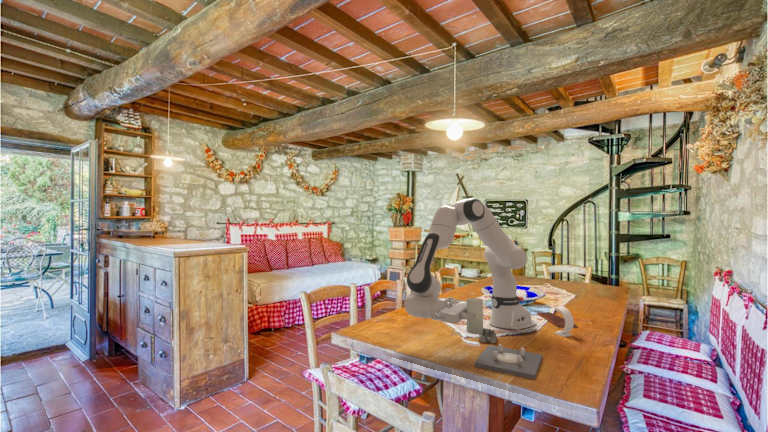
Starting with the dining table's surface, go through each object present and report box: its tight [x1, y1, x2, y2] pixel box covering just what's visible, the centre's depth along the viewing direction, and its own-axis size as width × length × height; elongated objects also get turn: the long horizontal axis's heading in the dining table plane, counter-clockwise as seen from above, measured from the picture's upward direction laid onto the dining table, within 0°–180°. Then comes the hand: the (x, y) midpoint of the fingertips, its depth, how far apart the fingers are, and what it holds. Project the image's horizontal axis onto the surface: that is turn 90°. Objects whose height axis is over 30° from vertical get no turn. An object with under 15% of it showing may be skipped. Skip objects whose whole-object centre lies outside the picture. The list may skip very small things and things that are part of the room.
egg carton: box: [478, 327, 497, 344], centre depth 158 cm, size 11×8×4 cm
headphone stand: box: [554, 305, 575, 338], centre depth 163 cm, size 5×6×12 cm
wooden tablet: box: [536, 311, 578, 329], centre depth 186 cm, size 27×10×2 cm, turn 2°
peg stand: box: [474, 343, 543, 380], centre depth 133 cm, size 20×20×4 cm
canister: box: [466, 297, 484, 335], centre depth 137 cm, size 6×6×12 cm
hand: (477, 314), depth 137 cm, fingers closed on canister, 6 cm apart
